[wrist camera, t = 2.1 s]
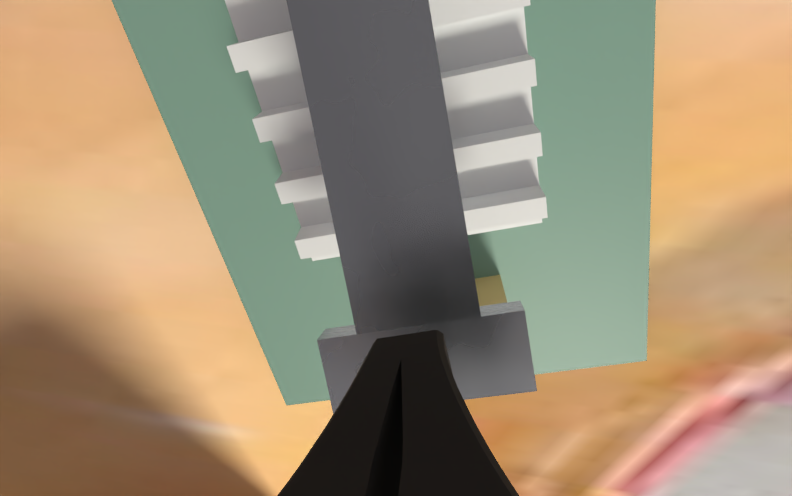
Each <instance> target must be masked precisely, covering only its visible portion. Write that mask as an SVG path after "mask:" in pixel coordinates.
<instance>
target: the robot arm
mask: <svg viewBox="0 0 792 496" xmlns="http://www.w3.org/2000/svg"><path fill="white" fill-rule="evenodd" d="M278 496H519V495H518V493H517V492H516V490H515V489H514V487H513V486H512V484H511V483H510V481H509V480H508V478H507V476H506V475H505V473H504V472H503V470H502V469H501V467H500V465H499V464H498V462H497V461H496V459H495V457H494V456H493V454H492V452H491V451H490V449H489V447H488V445H487V444H486V442H485V440H484V438H483V436H482V435H481V433H480V431H479V429H478V428H477V426H476V424H475V422H474V420H473V418H472V416H471V414H470V412H469V410H468V408H467V406H466V404H465V402H464V399H463V397H462V395H461V393H460V391H459V389H458V387H457V384H456V382H455V379H454V377H453V373H452V369H451V364H450V360H449V356H448V351H447V347H446V343H445V338H444V334H443V333H442V332H440V331H438V330H431V331H424V332H417V333H411V334H404V335H398V336H391V337H384V338H378V339H376V341H375V342H374V343H373V345H372V347H371V348H370V350H369V352H368V354H367V356H366V358H365V360H364V362H363V364H362V366H361V367H360V369H359V371H358V373H357V375H356V377H355V378H354V380H353V382H352V384H351V386H350V387H349V389H348V391H347V393H346V394H345V396H344V398H343V399H342V401H341V403H340V404H339V406H338V408H337V409H336V411H335V413H334V414H333V416H332V418H331V419H330V421H329V423H328V424H327V426H326V427H325V429H324V430H323V432H322V433H321V435H320V436H319V438H318V439H317V441H316V442H315V444H314V445H313V447H312V448H311V450H310V451H309V453H308V454H307V456H306V457H305V459H304V460H303V462H302V463H301V465H300V466H299V467H298V469H297V470H296V471H295V473H294V474H293V476H292V477H291V478H290V480H289V481H288V482H287V484H286V485H285V486H284V488H283V489H282V490H281V492H280V493H279V494H278Z"/></svg>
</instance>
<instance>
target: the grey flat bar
mask: <svg viewBox="0 0 792 496" xmlns="http://www.w3.org/2000/svg"><path fill="white" fill-rule="evenodd" d="M286 1H287V6H288V11H289V15H290V20H291V25H292V30H293V35H294V39H295V44H296V49H297V54H298V58H299V63H300V68H301V73H302V77H303V82H304V87H305V92H306V96H307V101H308V106H309V111H310V115H311V120H312V125H313V130H314V134H315V139H316V144H317V149H318V153H319V158H320V163H321V168H322V173H323V177H324V182H325V187H326V192H327V196H328V201H329V206H330V211H331V215H332V220H333V225H334V230H335V234H336V239H337V244H338V249H339V253H340V258H341V263H342V268H343V272H344V277H345V282H346V287H347V291H348V296H349V301H350V306H351V311H352V315H353V320H354V325H348V326H341V327H335V328H328V329H325V330H324V331H323V333H322V334H321V335H320V337H319V338H318V339H317V342H318V347H319V351H320V356H321V360H322V365H323V369H324V374H325V378H326V383H327V387H328V392H329V396H330V400H331V405H332V409H333V414H334V413H335V411H336V409H337V408H338V406H339V404H340V403H341V401H342V399H343V398H344V396H345V394H346V393H347V391H348V389H349V387H350V386H351V384H352V382H353V380H354V378H355V377H356V375H357V373H358V371H359V369H360V367H361V366H362V364H363V362H364V360H365V358H366V356H367V354H368V352H369V350H370V348H371V347H372V345H373V343H374V342H375V341H376V339H378V338H384V337H391V336H398V335H404V334H411V333H417V332H424V331H431V330H438V331H440V332H442V333H443V334H444V338H445V343H446V347H447V351H448V356H449V360H450V364H451V369H452V373H453V377H454V379H455V382H456V384H457V387H458V389H459V391H460V393H461V395H462V397H463V399H464V400H465V399H474V398H482V397H490V396H499V395H507V394H516V393H524V392H532V391H537V388H536V381H535V375H534V368H533V361H532V355H531V348H530V342H529V335H528V328H527V322H526V315H525V310H524V308H523V306H522V303H521V301H513V302H506V303H499V304H492V305H485V306H479V301H478V295H477V289H476V283H475V277H474V271H473V265H472V259H471V253H470V247H469V241H468V235H467V229H466V223H465V217H464V211H463V205H462V199H461V193H460V187H459V181H458V175H457V169H456V163H455V157H454V151H453V145H452V139H451V133H450V127H449V121H448V115H447V109H446V103H445V97H444V91H443V85H442V79H441V73H440V67H439V61H438V55H437V48H436V42H435V36H434V30H433V24H432V18H431V12H430V6H429V0H286Z"/></svg>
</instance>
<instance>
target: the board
mask: <svg viewBox="0 0 792 496" xmlns="http://www.w3.org/2000/svg"><path fill="white" fill-rule="evenodd" d="M112 2H113V4H114V7H115V9H116V11H117V14H118V16H119V18H120V21H121V23H122V25H123V28H124V30H125V32H126V34H127V37H128V39H129V41H130V44H131V46H132V48H133V51H134V53H135V55H136V58H137V60H138V62H139V65H140V67H141V69H142V72H143V74H144V76H145V78H146V81H147V83H148V85H149V88H150V90H151V92H152V95H153V97H154V99H155V102H156V104H157V106H158V109H159V111H160V113H161V116H162V118H163V120H164V122H165V125H166V127H167V129H168V132H169V134H170V136H171V139H172V141H173V143H174V146H175V148H176V150H177V153H178V155H179V157H180V160H181V162H182V164H183V166H184V169H185V171H186V173H187V176H188V178H189V180H190V183H191V185H192V187H193V190H194V192H195V194H196V197H197V199H198V201H199V204H200V206H201V208H202V210H203V213H204V215H205V217H206V220H207V222H208V224H209V227H210V229H211V231H212V234H213V236H214V238H215V241H216V243H217V245H218V248H219V250H220V252H221V254H222V257H223V259H224V261H225V264H226V266H227V268H228V271H229V273H230V275H231V278H232V280H233V282H234V285H235V287H236V289H237V292H238V294H239V296H240V298H241V301H242V303H243V305H244V308H245V310H246V312H247V315H248V317H249V319H250V322H251V324H252V326H253V329H254V331H255V333H256V336H257V338H258V340H259V342H260V345H261V347H262V349H263V352H264V354H265V356H266V359H267V361H268V363H269V366H270V368H271V370H272V373H273V375H274V377H275V380H276V382H277V384H278V386H279V389H280V391H281V393H282V396H283V398H284V400H285V403H286V405H293V404H301V403H309V402H317V401H325V400H330V396H329V392H328V387H327V383H326V378H325V374H324V369H323V365H322V360H321V356H320V351H319V347H318V342H317V339H318V338H319V337H320V335H321V334H322V333H323V331H324V330H325V329H328V328H335V327H341V326H348V325H354V320H353V315H352V311H351V306H350V301H349V296H348V291H347V287H346V282H345V277H344V272H343V268H342V263H341V258H340V253H339V249H338V244H337V239H336V234H335V230H334V225H333V220H332V215H331V211H330V206H329V201H328V196H327V192H326V187H325V182H324V177H323V173H322V168H321V163H320V158H319V153H318V149H317V144H316V139H315V134H314V130H313V125H312V120H311V115H310V111H309V106H308V101H307V96H306V92H305V87H304V82H303V77H302V73H301V68H300V63H299V58H298V54H297V49H296V44H295V39H294V35H293V30H292V25H291V20H290V15H289V11H288V6H287V1H286V0H112ZM655 5H656V0H429V6H430V12H431V18H432V24H433V30H434V36H435V42H436V48H437V55H438V61H439V67H440V73H441V79H442V85H443V91H444V97H445V103H446V109H447V115H448V121H449V127H450V133H451V139H452V145H453V151H454V157H455V163H456V169H457V175H458V181H459V187H460V193H461V199H462V205H463V211H464V217H465V223H466V229H467V235H468V241H469V247H470V253H471V259H472V265H473V271H474V277H475V283H476V289H477V295H478V301H479V306H485V305H492V304H499V303H506V302H513V301H521V303H522V306H523V308H524V310H525V315H526V322H527V328H528V335H529V342H530V348H531V355H532V361H533V368H534V375H535V374H543V373H551V372H559V371H567V370H575V369H583V368H591V367H599V366H607V365H616V364H624V363H632V362H640V361H647V325H648V285H649V245H650V205H651V165H652V125H653V85H654V45H655Z"/></svg>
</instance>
